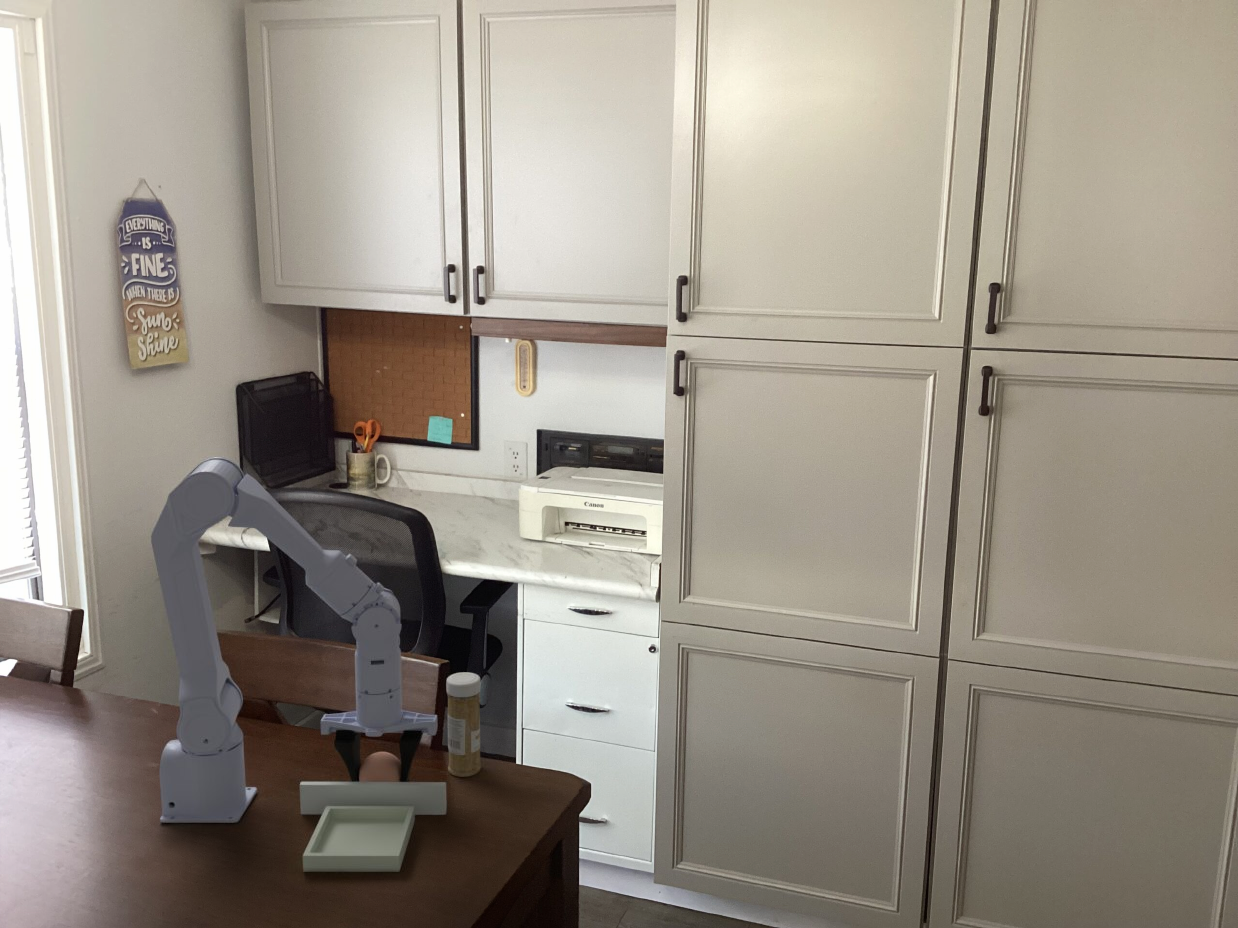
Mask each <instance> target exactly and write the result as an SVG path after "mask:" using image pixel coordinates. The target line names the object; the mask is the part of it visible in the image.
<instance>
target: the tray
mask: <svg viewBox="0 0 1238 928" xmlns="http://www.w3.org/2000/svg"><path fill="white" fill-rule="evenodd" d="M415 816H416V815H415V806H326V808H325V810H324V812H323V814H321V816H320V818H319V820H318V823H317V825H316V827H315V829H314V831H313V833H312V835H311V837H310V840H309V841H308V844H307V846H306V848H305V850H304V852H303V854H302V871H303V872H304V873H309V872H311V873H312V872H313V873H315V872H316V873H320V872H321V873H328V872H329V873H333V872H335V873H339V872H340V873H364V872H365V873H381V872H382V873H387V872H388V873H400V870H401V867H402V865H403V861H404V857H405V855H406V851H407V847H408V844H409V841H410V838H411V834H412V831H413V828H414V825H415V821H416V817H415Z"/></svg>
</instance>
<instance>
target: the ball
mask: <svg viewBox="0 0 1238 928" xmlns="http://www.w3.org/2000/svg"><path fill="white" fill-rule="evenodd" d="M359 782H401V760H399V758H398V757H397V756H396V755H394V754H393V753H391V752H387V751H377V752H373V753H372V754H370V755H368V756H366V758H365V759H364V760H363V761H362V762H361V766H360V769H359Z"/></svg>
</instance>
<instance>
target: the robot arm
mask: <svg viewBox="0 0 1238 928" xmlns="http://www.w3.org/2000/svg"><path fill="white" fill-rule="evenodd" d="M227 517H230V518H231V519H230V521H229V523H228V525H227V526H228V527H231V528H244V529H245V528H247V529H251V528H252V529H255V530H257V531H258V532H259V533H260V534H262V535H263V536H264V537H265V538H266V539H268V540H269V541H270V542H271V543H272V544H274V545H275V546H276V547H277V548H278V549H280V550H281V551H282V552H283V553H284V554H285V555H287V556H288V557H289V558H291V559H292V560H293V561H294V562H296V563H297V564H298V565H299V566H300V567H301V568H303V569H304V571H305V585H306V586H307V587H308V588H309V589H310V590H311V591H312V592H314V593H315V594H316V595H317V596H318V597H319V598H320V599H321V600H322V601H323V602H324V603H326V604H327V605H328V607H330V608H331V609H332V610H333V611H335V613H336V614H338V616H340V618H342V619H344V620H346V621H349V622H350V623H352V625H351V633H352V635H353V638H354V639H355V640H356V649H355V652H354V674H355V675H354V676H355V678H354V679H355V681H354V682H355V711H346V712H340V713H329V714H328V713H325V714H323V716H322V717H321V720H320V734H321V735H322V736H323V735H324V736H325V735H330V734H331V733H335V738H334V741H333V746H334V748H335V750H336V751H337V752H338V753H339V755H340V757H341V758H342V760H343V762H344V764H345V766H346V769H347V771H348V774H349V777H350V780H351V781H350V782H359V769H360V766H361V764H362V761H361V741H362V740H361V739H362V737H361V735H362V733H365V736H366V737H374V738H377V737H381V736H382V735H383V734H387V733H389V734H390V733H391V734H395V733H396V734H399V733H400V734H402V735H401V738H400V740H399V743H398V745H399V755H400V763H401V782H410V774H411V768H412V763H413V760H414V757H415V754H416V752H417V750H418V748H419V746H420V743H421V741H422V737H423V735H424V733H425V734H427V736H436V734H437V731H438V715H437V714H426V713H425V714H424V713H419V712H413V711H410V710H409V711H408V710H404V709H403V697H402V696H403V695H402V694H403V693H402V691H403V689H402V688H403V687H402V651H401V648H400V646H401V638H400V634H401V631H402V623H401V605H400V603H399V600H398V598H397V597H396V596H395V595H394V592H393V591H392V590H391V589H389V588H386V587H385V586H383V584H381V582H376V583H375V582H374V581H373V580H372V579H371V578H370V577H369V576H368V575H366V574H365V573H364V572H363V570H362V569H361V568H359V567H358V566H357V563H358V562H357V561H358V560H357V558H356V557H355V556H354V555H353V554H351V553H349V554H347V555H345V554H344V553H343V552H342V551H341V550H339V549H338V550H336V549H335V550H332V549H323V547H322V546H321V545H320V544H319V543H318V542H317V541H316V540H315V539H314V538H313V537H312V536H311V535H310V534H309V533H308V532H307V531H306V530H305V529H304V527H302V525H300V524H299V522H298V521H297V520H296V519H295V518H294V517H292V516H291V514H290V513H289V512H288V511H287V510H286V509H285V508H284V507H283V506H282V505H281V504H280V503H279V502H278V501H277V500H276V499H275V498H274V497H273V496H272V495H271V494H270V493H269V492H268V491H267V490H266V489H265V488H264V486H263V485H261V484H260V483H259V482H258V481H257V479H255V478H254V477H253V476H251V475H250V474H248V473H246V474H244V471H243V470H242V468H241V467H240V466H239V465H238V464H237V463H236V462H234V460H233V461H232V460H230V459H229V458H225V457H219V456H217V457H209V458H207V459H205V460H203V461H201V462H200V463H198V465H196V467H194V468H193V469H192V470H191V471H190V472H189V473H188V474H187V475H186V476H185V477H184V478H183V479H182V481H181V482H180V483H179V484H177V486H176V487H175V488H173V489H172V490H171V491H170V492H169V494H168V495H167V499H166V502H165V505H164V506H163V509H162V510H161V513H160V514H159V517H158V519H157V521H156V524H155V525H154V528H153V530H152V532H151V535H150V540H151V541H150V542H151V547H152V552H153V557H154V561H155V567H156V569H157V576H158V579H159V584H160V589H161V593H162V597H163V602H164V607H165V613H166V618H167V622H168V626H169V632H170V635H171V640H172V644H173V649H174V654H175V657H176V658H175V660H176V664H177V668H178V672H179V689H178V706H179V710H180V711H179V712H180V714H179V719H178V721H177V725H176V736H177V737H176V738H177V739H173V740H172V739H171V740H169V741H168V742H167V743H166V744H165V746H164V748H163V750H162V754H161V758H160V762H159V763H160V764H159V785H160V798H161V799H160V801H161V816H160V818H159V822H160V823H165V824H166V823H168V824H169V823H177V824H178V823H179V824H180V823H187V824H188V823H193V824H194V823H197V824H198V823H199V824H200V823H201V824H202V823H205V824H206V823H208V824H210V823H211V824H213V823H214V824H215V823H218V824H220V823H221V824H223V823H224V824H226V823H227V824H229V823H230V824H231V823H232V824H235V823H238V822H239V821H240V820H241V818H242V816H243V814H244V813H245V812H246V811H247V808H248V807H249V805H250V803H251V802H252V800H253V798H254V797H255V795H256V794H257V792H258V789H257V787H255V786H252V787H251V786H247V785H246V769H245V748H244V746H245V745H244V733H243V730H242V729H241V727H240V726H239V724H238V722H237V721H236V720H237V717H238V715H239V713H240V711H241V709H242V706H243V703H244V701H243V700H244V698H243V693H242V691H241V689H240V688H239V686H238V685H237V684H236V682H234V680H233V678H232V677H231V672H230V669H229V666H228V665H227V664H226V662H225V661H224V660H223V658H222V657H223V656H222V651H221V647H220V646H221V645H220V643H219V637H218V633H217V628H216V622H215V617H214V613H213V608H212V603H211V597H210V594H209V589H208V585H207V579H206V575H205V569H204V565H203V560H202V559H203V558H202V555H201V554H202V553H201V550H200V546H199V544H200V543H199V540H201V538H202V537H203V535H205V534H206V532H207V531H208V530H209V529H210V528H212V527H214V526H215V525H217V524H219V523H220V522H222V521H223V520H225V519H226V518H227Z"/></svg>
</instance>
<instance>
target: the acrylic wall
mask: <svg viewBox="0 0 1238 928" xmlns="http://www.w3.org/2000/svg"><path fill="white" fill-rule="evenodd" d="M299 783H300V784H299V803H300V807H299V808H300V815H322V814H323V812H324V810H325V808H326V806H415V816H417V815H419V816H420V815H421V816H424V815H427V816H428V815H433V816H438V815H439V816H441V815H442V816H444V815H445V816H446V814H447V782H443V781H440V782H439V781H438V782H437V781H436V782H435V781H434V782H433V781H420V782H419V781H409V782H352V781H300V782H299Z"/></svg>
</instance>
